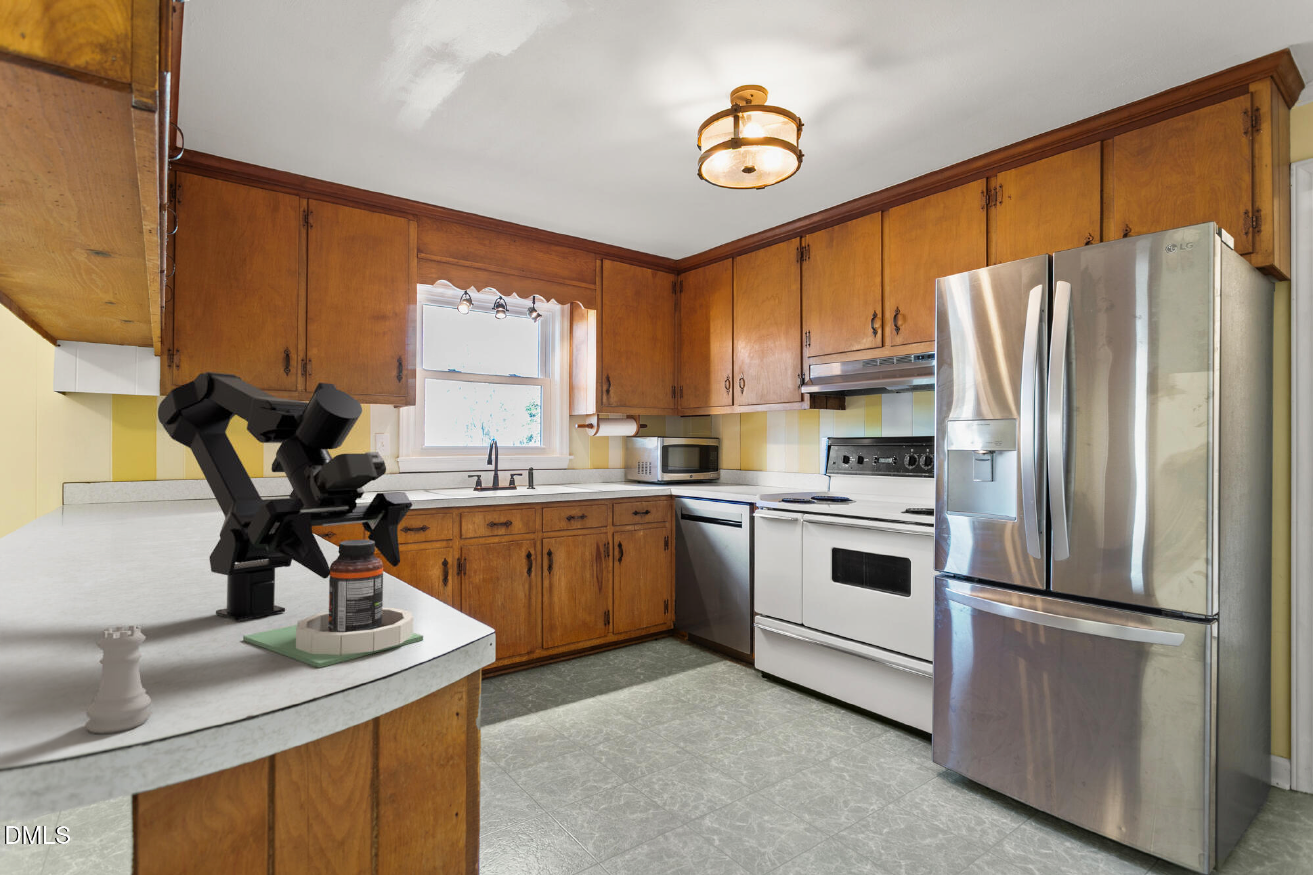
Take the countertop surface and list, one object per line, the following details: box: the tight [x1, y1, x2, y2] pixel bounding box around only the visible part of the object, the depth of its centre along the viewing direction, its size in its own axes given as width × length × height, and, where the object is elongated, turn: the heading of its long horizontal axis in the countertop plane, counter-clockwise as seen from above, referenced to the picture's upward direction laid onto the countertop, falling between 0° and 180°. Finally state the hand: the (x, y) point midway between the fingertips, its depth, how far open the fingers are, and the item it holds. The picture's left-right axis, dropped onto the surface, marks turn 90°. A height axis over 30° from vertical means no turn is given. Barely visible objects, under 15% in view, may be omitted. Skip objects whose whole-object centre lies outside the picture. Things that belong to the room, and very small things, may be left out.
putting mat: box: [242, 624, 424, 669], centre depth 81 cm, size 17×13×1 cm
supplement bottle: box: [328, 539, 384, 632], centre depth 81 cm, size 6×6×11 cm
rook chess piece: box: [84, 624, 153, 735], centre depth 56 cm, size 4×4×8 cm
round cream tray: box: [296, 607, 414, 655], centre depth 80 cm, size 13×13×2 cm
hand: (364, 570), depth 80 cm, fingers open, 9 cm apart
